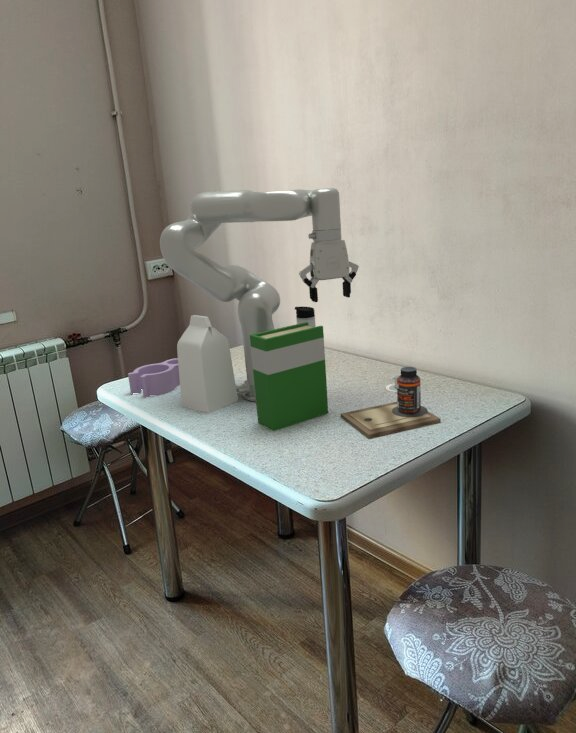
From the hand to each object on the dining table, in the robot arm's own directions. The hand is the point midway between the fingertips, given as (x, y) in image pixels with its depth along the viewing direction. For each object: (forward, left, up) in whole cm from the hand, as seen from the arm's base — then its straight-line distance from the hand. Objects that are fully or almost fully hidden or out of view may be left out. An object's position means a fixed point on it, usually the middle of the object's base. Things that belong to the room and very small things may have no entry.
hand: (330, 299), depth 170 cm
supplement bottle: (+10, -24, -27) cm, 37 cm away
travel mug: (+5, +34, -28) cm, 45 cm away
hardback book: (-17, -10, -28) cm, 35 cm away
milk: (-34, +14, -28) cm, 47 cm away
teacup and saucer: (+19, -7, -29) cm, 35 cm away
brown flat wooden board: (+4, -24, -28) cm, 37 cm away
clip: (-44, +38, -29) cm, 65 cm away
